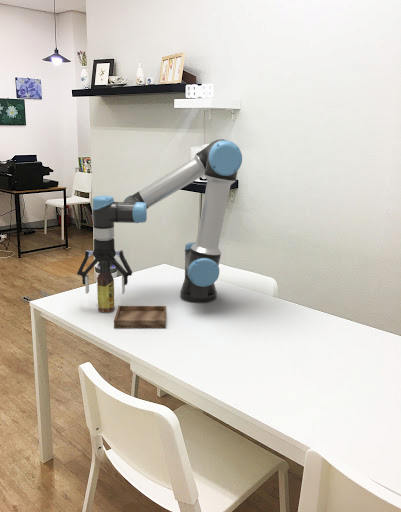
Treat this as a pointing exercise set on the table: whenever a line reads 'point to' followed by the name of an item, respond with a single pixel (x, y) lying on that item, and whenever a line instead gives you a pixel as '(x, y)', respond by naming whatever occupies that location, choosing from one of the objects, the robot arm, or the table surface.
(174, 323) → the table surface
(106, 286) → the sauce bottle
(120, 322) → the tray
